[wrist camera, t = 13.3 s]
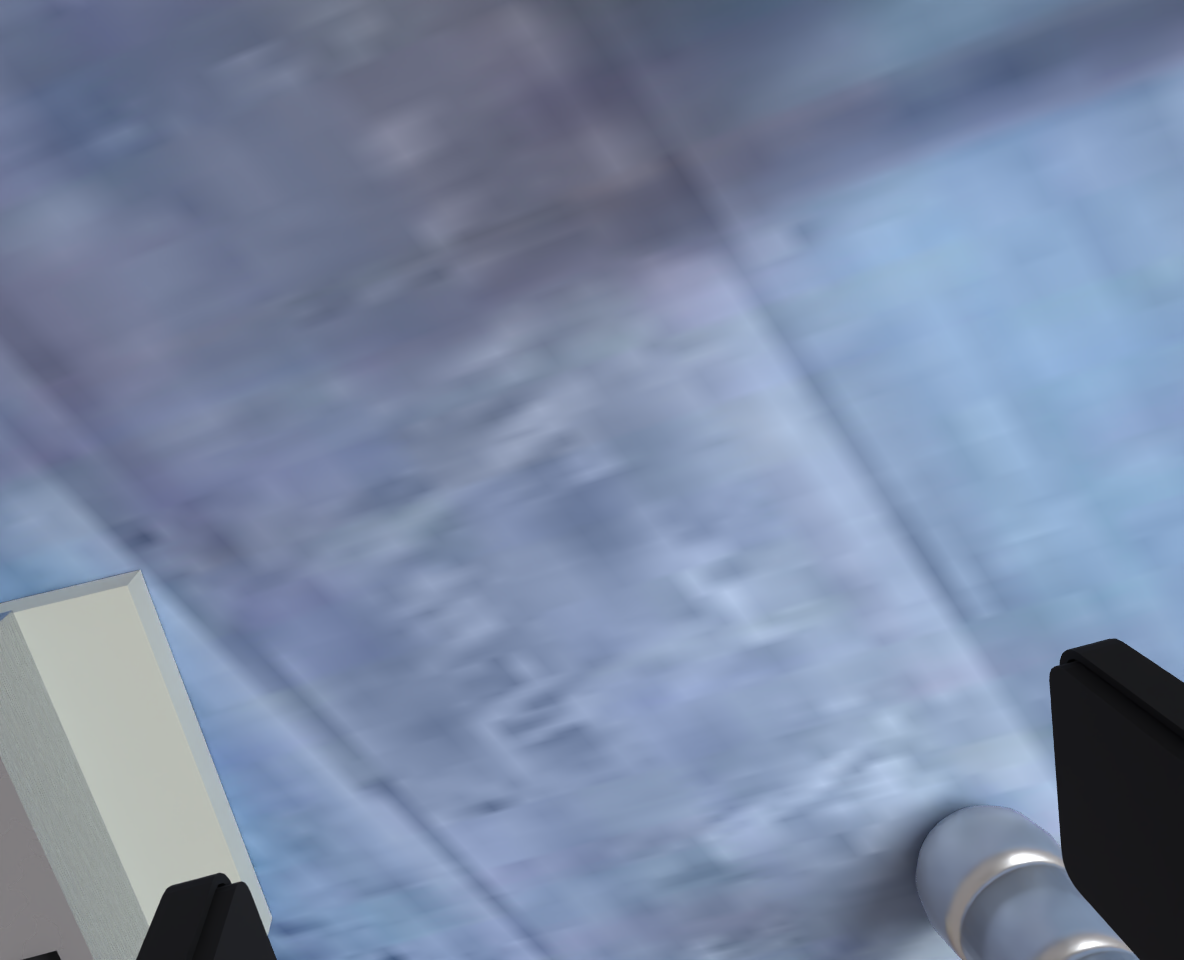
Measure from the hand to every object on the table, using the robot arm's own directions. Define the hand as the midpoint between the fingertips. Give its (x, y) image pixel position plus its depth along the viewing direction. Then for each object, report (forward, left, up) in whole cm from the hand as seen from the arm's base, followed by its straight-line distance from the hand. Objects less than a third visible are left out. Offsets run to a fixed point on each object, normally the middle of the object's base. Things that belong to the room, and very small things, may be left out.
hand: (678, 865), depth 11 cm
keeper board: (+11, -22, -26) cm, 36 cm away
